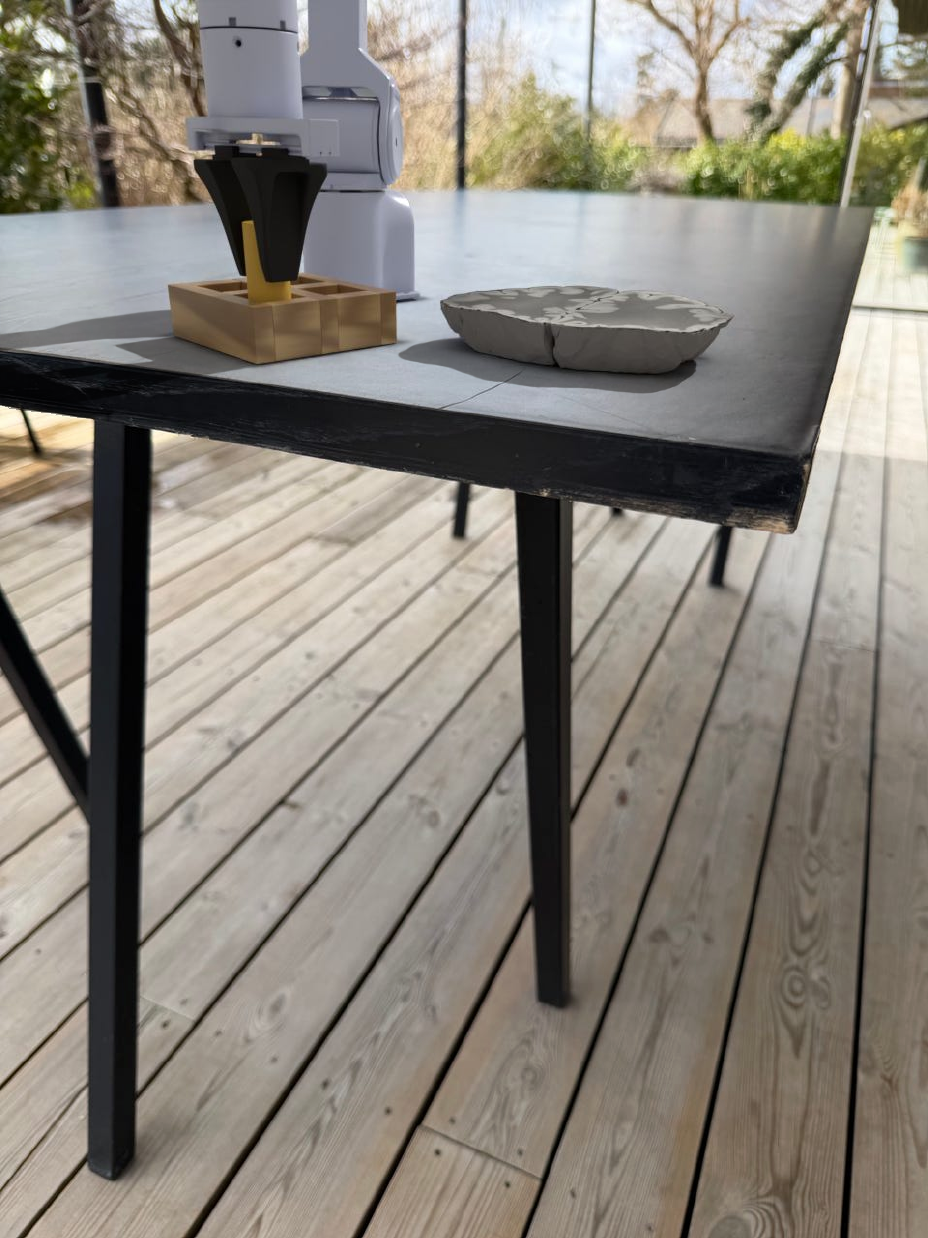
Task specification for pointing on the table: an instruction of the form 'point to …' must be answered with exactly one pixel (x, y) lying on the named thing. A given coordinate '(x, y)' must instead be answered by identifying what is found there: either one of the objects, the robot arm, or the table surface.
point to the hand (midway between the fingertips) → (268, 277)
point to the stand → (284, 318)
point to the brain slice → (586, 327)
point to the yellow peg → (259, 271)
